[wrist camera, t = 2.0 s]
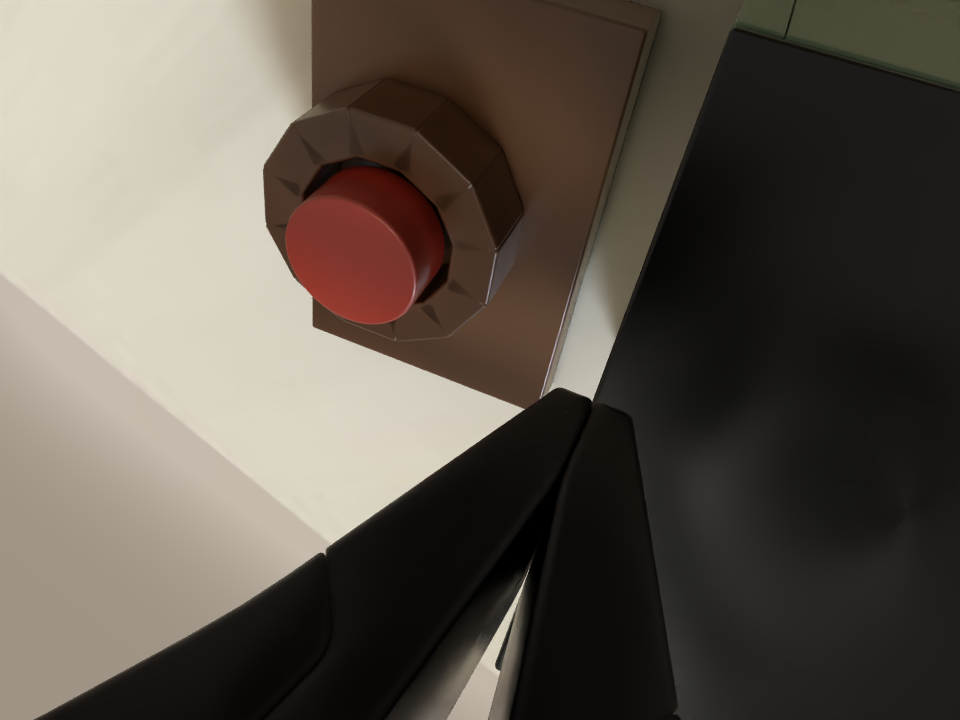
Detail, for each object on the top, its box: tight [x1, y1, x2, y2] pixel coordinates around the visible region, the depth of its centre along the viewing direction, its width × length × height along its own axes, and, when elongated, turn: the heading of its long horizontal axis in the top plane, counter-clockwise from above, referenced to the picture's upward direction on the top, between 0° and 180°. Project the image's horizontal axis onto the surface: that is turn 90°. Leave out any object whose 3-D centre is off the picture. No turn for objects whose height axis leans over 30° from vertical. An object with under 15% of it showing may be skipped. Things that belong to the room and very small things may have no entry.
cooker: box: [732, 0, 960, 90], centre depth 17 cm, size 12×11×5 cm
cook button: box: [285, 166, 445, 324], centre depth 20 cm, size 4×4×2 cm
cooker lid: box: [495, 27, 960, 720], centre depth 13 cm, size 12×11×1 cm
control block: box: [263, 0, 661, 409], centre depth 21 cm, size 12×8×4 cm
